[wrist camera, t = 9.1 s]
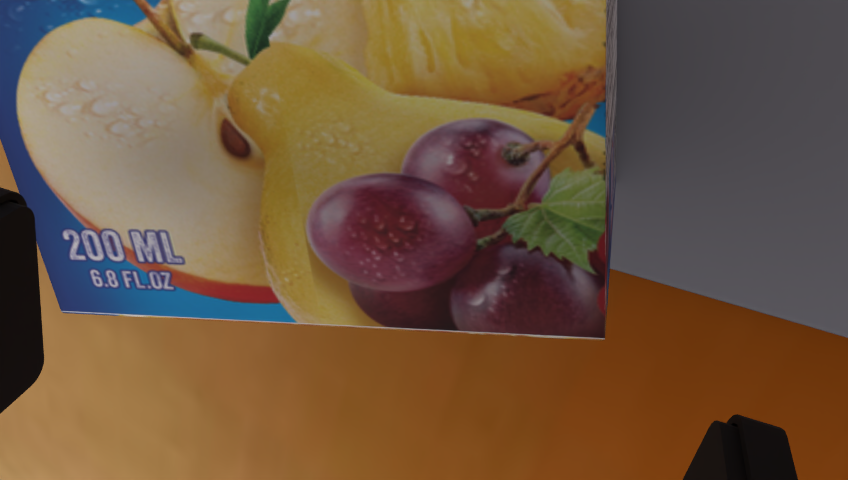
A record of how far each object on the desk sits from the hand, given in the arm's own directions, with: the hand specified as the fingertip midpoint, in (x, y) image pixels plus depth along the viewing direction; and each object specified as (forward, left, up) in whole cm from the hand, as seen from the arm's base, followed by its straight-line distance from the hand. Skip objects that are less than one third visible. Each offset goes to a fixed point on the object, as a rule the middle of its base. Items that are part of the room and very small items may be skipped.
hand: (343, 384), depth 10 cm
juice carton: (+2, +3, -8) cm, 9 cm away
